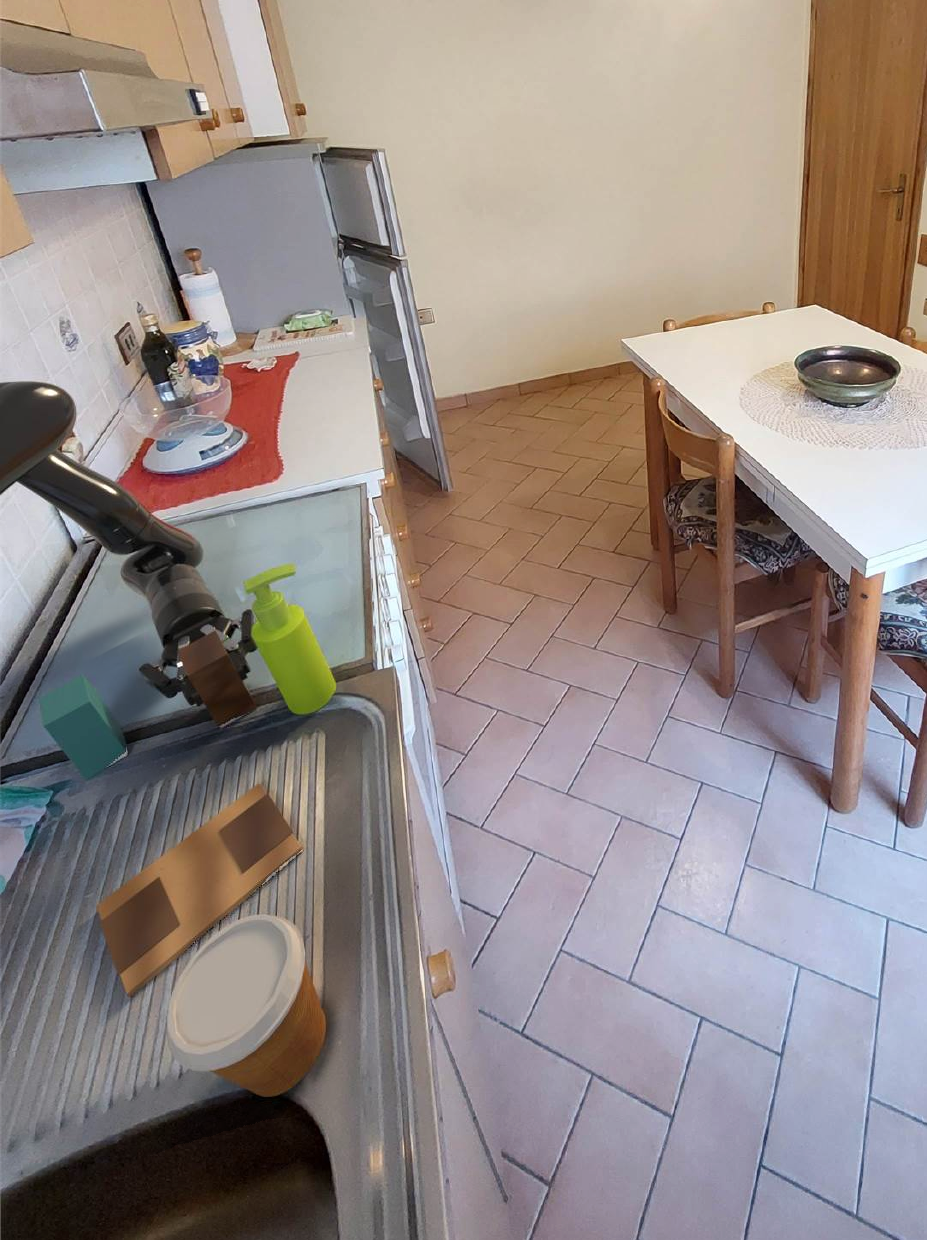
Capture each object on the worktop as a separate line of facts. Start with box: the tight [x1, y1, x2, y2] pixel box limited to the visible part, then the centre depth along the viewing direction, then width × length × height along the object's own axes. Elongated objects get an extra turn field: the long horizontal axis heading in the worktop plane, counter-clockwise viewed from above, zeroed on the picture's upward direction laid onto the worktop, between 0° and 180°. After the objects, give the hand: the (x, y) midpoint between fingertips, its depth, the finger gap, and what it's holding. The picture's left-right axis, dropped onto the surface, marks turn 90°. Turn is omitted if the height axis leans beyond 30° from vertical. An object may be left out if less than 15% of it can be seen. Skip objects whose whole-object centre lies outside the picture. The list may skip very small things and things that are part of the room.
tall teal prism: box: [38, 674, 127, 781], centre depth 81 cm, size 4×6×10 cm
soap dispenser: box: [243, 563, 337, 716], centre depth 84 cm, size 6×7×20 cm
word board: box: [95, 782, 303, 998], centre depth 69 cm, size 16×11×1 cm
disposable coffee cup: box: [166, 914, 327, 1098], centre depth 54 cm, size 10×10×12 cm
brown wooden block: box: [177, 631, 258, 728], centre depth 86 cm, size 4×6×10 cm
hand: (220, 686), depth 83 cm, fingers closed on brown wooden block, 4 cm apart
